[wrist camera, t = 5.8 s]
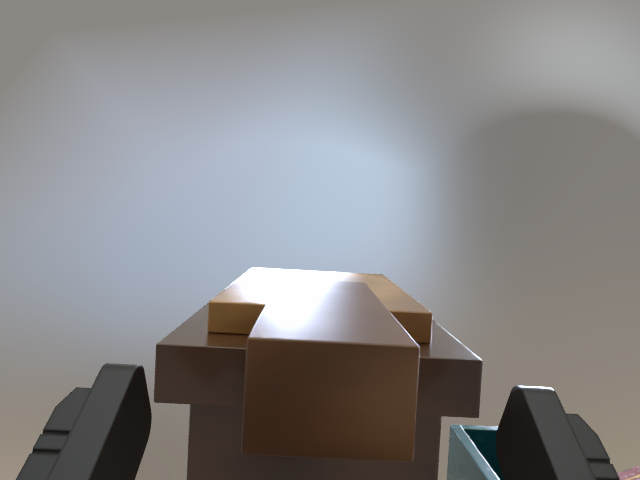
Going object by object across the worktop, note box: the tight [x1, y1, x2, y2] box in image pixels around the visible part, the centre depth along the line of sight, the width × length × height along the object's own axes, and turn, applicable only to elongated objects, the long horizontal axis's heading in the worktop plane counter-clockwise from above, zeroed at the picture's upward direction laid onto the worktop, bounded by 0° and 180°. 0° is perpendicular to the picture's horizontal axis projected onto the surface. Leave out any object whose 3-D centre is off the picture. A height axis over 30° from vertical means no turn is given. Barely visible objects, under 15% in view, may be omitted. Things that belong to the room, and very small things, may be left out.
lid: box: [207, 268, 433, 462], centre depth 22 cm, size 8×24×2 cm, turn 1°
